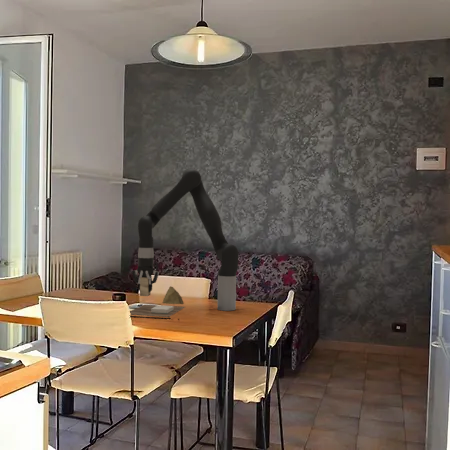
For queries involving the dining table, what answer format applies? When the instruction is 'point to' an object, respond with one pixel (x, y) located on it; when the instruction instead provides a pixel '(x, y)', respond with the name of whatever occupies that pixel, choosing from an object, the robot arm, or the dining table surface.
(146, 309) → the board
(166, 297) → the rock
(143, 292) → the block
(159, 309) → the tile
